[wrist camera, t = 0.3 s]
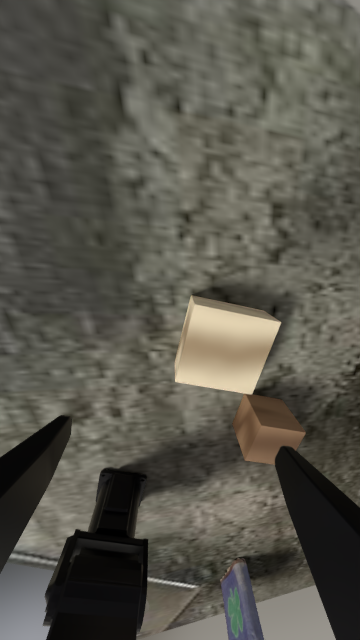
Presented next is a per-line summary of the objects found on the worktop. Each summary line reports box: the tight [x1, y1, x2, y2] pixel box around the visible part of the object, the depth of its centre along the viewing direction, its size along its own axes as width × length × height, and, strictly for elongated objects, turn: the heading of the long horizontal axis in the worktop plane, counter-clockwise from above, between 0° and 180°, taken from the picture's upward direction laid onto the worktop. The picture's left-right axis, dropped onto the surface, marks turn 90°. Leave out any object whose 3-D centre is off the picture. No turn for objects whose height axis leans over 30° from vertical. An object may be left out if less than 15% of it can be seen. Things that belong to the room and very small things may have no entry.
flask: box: [221, 558, 264, 640], centre depth 33 cm, size 9×3×11 cm, turn 163°
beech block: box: [175, 295, 281, 395], centre depth 21 cm, size 8×8×4 cm
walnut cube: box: [232, 393, 306, 465], centre depth 24 cm, size 5×5×5 cm
